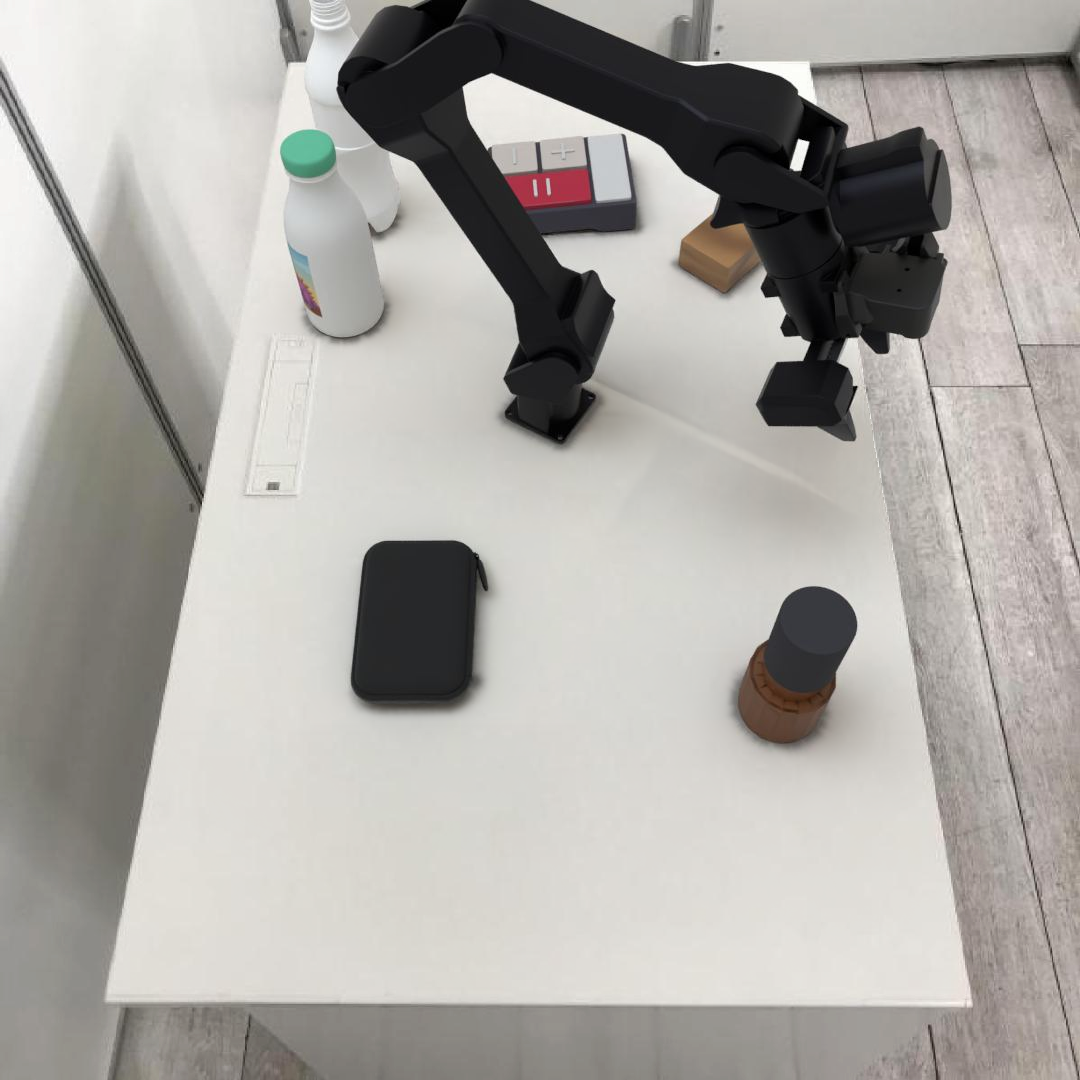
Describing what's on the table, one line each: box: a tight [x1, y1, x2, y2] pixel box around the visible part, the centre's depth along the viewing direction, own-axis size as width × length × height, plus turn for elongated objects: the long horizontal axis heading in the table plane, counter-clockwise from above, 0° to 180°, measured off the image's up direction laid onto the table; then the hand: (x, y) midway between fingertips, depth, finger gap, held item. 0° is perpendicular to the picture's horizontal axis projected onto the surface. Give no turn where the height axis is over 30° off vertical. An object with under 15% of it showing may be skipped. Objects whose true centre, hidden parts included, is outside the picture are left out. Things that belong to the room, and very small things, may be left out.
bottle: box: [737, 639, 837, 744], centre depth 81 cm, size 6×6×8 cm
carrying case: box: [350, 539, 489, 704], centre depth 87 cm, size 11×3×15 cm
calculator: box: [487, 133, 637, 234], centre depth 113 cm, size 11×4×15 cm
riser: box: [677, 213, 761, 294], centre depth 108 cm, size 6×6×4 cm
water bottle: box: [303, 0, 401, 233], centre depth 103 cm, size 7×7×25 cm
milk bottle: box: [279, 128, 385, 338], centre depth 99 cm, size 8×8×20 cm
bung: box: [764, 585, 858, 693], centre depth 75 cm, size 5×5×8 cm
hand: (866, 395), depth 86 cm, fingers open, 9 cm apart
